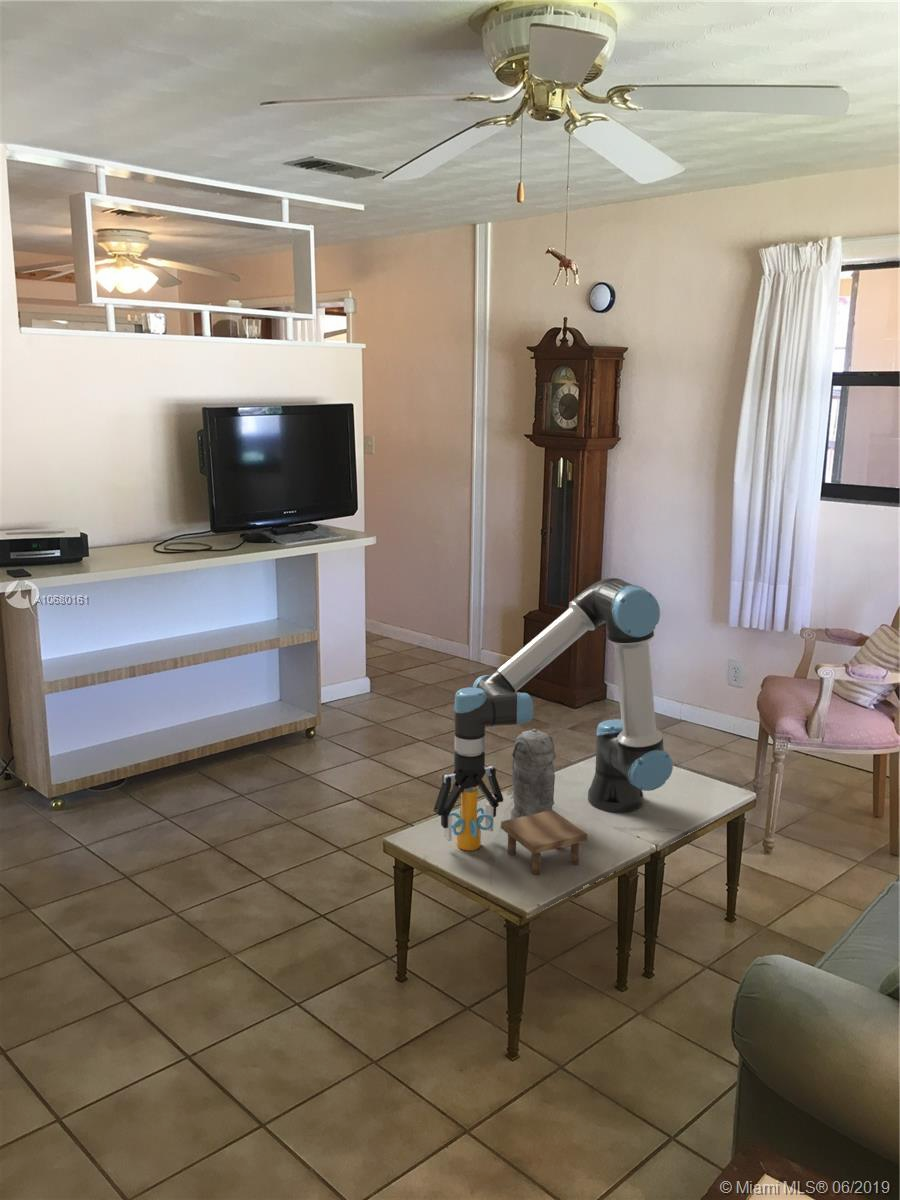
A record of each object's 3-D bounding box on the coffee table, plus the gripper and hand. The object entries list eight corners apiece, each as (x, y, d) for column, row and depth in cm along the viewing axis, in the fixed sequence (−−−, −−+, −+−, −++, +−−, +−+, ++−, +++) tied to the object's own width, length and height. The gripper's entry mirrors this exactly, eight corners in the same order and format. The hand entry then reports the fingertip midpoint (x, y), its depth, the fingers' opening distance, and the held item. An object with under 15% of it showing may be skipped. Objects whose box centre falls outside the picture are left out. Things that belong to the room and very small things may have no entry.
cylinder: (467, 831, 248) (467, 776, 245) (499, 843, 241) (500, 787, 238) (436, 848, 239) (436, 791, 235) (469, 860, 232) (470, 803, 229)
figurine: (527, 805, 264) (529, 718, 258) (562, 823, 252) (565, 733, 247) (499, 813, 258) (501, 725, 253) (534, 833, 247) (536, 741, 241)
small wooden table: (551, 839, 244) (552, 809, 242) (586, 864, 231) (587, 833, 229) (500, 851, 237) (501, 821, 235) (533, 878, 224) (533, 847, 222)
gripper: (503, 738, 243) (501, 818, 248) (419, 753, 233) (419, 837, 237) (518, 748, 237) (516, 830, 241) (433, 764, 226) (433, 850, 231)
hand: (468, 834), depth 239 cm, fingers closed on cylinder, 11 cm apart
